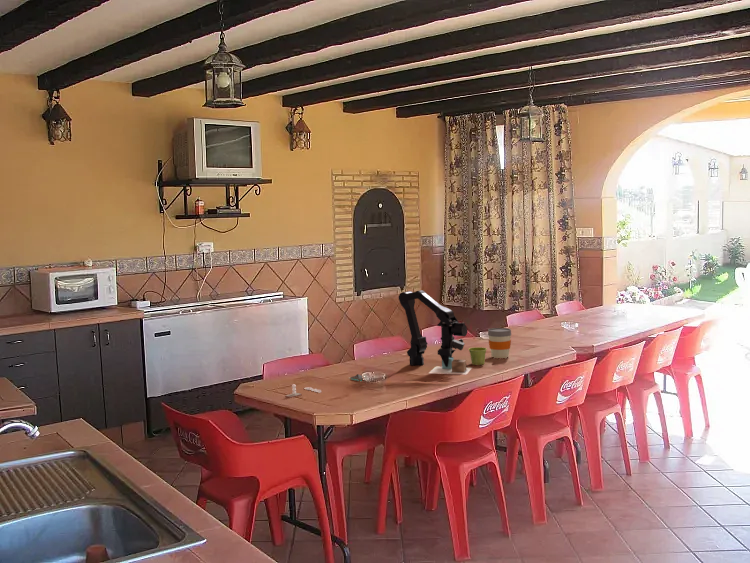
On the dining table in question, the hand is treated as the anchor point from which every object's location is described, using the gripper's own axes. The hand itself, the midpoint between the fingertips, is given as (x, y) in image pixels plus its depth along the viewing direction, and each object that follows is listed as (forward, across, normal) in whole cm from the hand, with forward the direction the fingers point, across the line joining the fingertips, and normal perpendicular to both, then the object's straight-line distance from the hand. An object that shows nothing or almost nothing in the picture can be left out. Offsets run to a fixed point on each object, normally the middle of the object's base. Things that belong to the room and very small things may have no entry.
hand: (447, 365), depth 385 cm
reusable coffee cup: (+2, +36, -21) cm, 42 cm away
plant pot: (+2, +13, -13) cm, 19 cm away
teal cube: (+1, 0, 0) cm, 1 cm away
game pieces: (+3, -45, +49) cm, 67 cm away
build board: (+2, -5, -2) cm, 6 cm away
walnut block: (+1, -6, -7) cm, 9 cm away
